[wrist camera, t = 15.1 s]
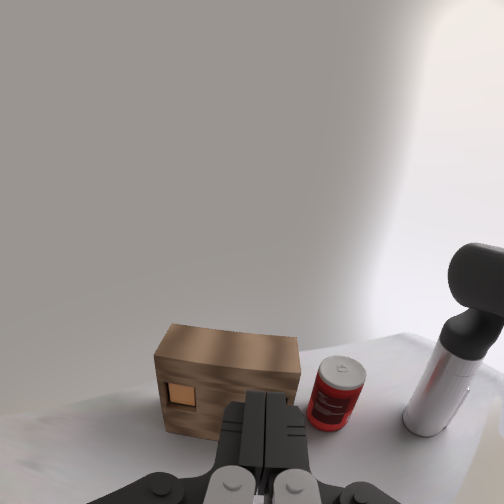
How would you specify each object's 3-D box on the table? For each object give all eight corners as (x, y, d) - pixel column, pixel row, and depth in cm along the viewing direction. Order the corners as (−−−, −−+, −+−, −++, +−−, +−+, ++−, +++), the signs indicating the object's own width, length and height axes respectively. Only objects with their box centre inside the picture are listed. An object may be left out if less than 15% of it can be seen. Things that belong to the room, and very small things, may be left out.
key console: (281, 411, 45) (296, 337, 40) (281, 446, 37) (301, 373, 32) (178, 398, 45) (172, 323, 41) (166, 431, 38) (153, 355, 33)
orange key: (201, 383, 41) (201, 362, 40) (195, 406, 36) (193, 384, 35) (179, 380, 41) (177, 358, 40) (170, 401, 37) (167, 379, 35)
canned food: (338, 398, 48) (354, 353, 45) (354, 428, 40) (375, 382, 37) (300, 403, 47) (312, 357, 43) (313, 436, 39) (329, 390, 36)
